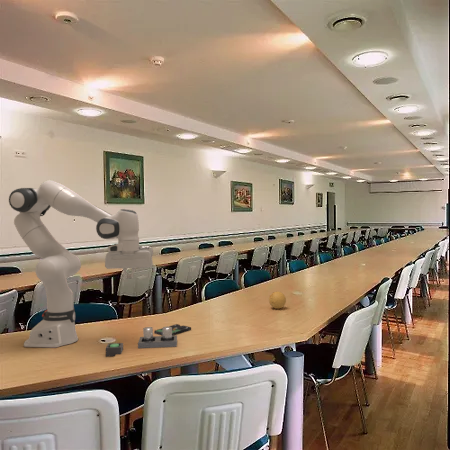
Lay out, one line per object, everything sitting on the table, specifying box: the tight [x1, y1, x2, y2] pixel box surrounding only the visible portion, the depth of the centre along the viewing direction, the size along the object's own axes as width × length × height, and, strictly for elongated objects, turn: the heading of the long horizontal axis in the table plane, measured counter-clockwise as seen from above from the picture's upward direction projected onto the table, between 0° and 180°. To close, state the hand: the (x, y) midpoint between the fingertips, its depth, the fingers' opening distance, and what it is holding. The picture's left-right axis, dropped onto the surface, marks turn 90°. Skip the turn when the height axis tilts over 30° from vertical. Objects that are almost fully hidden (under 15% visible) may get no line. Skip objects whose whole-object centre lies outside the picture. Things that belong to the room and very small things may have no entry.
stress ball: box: [268, 291, 287, 310], centre depth 253 cm, size 10×10×10 cm
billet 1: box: [142, 326, 154, 342], centre depth 185 cm, size 4×4×7 cm
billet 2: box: [162, 325, 172, 341], centre depth 186 cm, size 4×4×7 cm
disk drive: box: [153, 323, 192, 336], centre depth 205 cm, size 10×3×15 cm
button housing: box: [105, 342, 124, 358], centre depth 176 cm, size 6×6×4 cm
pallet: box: [137, 334, 178, 349], centre depth 186 cm, size 16×9×3 cm, turn 95°
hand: (129, 278), depth 188 cm, fingers closed
